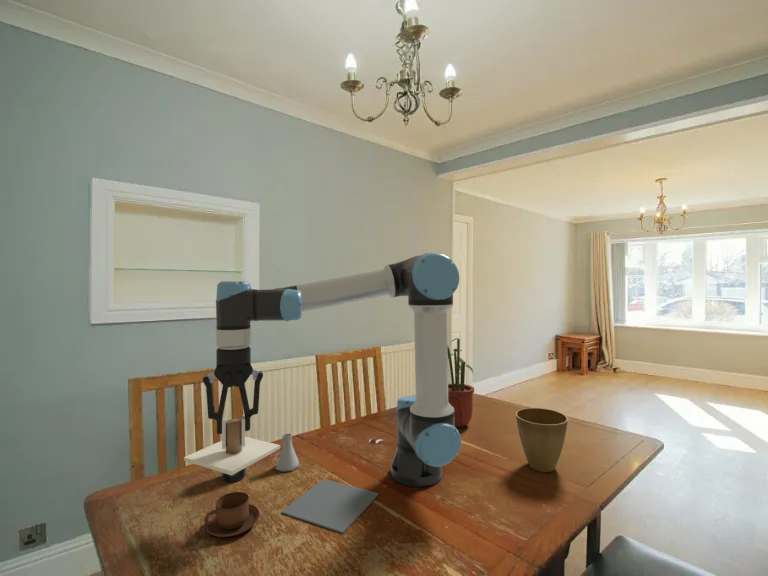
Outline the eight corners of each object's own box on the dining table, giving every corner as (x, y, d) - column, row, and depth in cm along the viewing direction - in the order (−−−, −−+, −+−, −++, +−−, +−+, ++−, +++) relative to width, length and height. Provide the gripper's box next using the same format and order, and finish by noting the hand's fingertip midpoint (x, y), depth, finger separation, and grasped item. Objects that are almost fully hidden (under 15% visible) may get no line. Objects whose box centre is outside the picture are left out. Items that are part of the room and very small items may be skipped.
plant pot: (523, 452, 131) (523, 404, 131) (571, 463, 123) (572, 413, 122) (509, 469, 119) (509, 417, 119) (562, 484, 110) (562, 427, 110)
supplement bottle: (225, 472, 119) (225, 432, 118) (248, 470, 119) (248, 431, 119) (218, 483, 112) (217, 442, 112) (242, 482, 112) (242, 441, 112)
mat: (378, 494, 105) (378, 493, 105) (342, 533, 89) (342, 531, 89) (323, 480, 113) (323, 478, 113) (281, 513, 97) (281, 511, 97)
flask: (293, 473, 117) (293, 440, 117) (271, 471, 119) (270, 438, 119) (303, 462, 125) (302, 431, 124) (282, 460, 126) (281, 429, 126)
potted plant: (477, 430, 150) (477, 339, 149) (437, 430, 150) (436, 340, 149) (468, 415, 167) (468, 333, 167) (432, 415, 167) (431, 334, 167)
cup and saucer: (226, 549, 84) (226, 521, 84) (193, 531, 91) (193, 505, 91) (269, 520, 95) (269, 495, 94) (237, 505, 101) (237, 482, 101)
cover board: (280, 448, 96) (280, 416, 96) (231, 475, 82) (231, 438, 82) (235, 437, 102) (235, 407, 102) (184, 460, 89) (184, 426, 89)
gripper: (269, 342, 98) (269, 435, 98) (197, 345, 93) (197, 443, 93) (271, 347, 91) (271, 447, 91) (192, 351, 86) (192, 457, 86)
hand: (233, 445), depth 92 cm, fingers closed on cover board, 3 cm apart
